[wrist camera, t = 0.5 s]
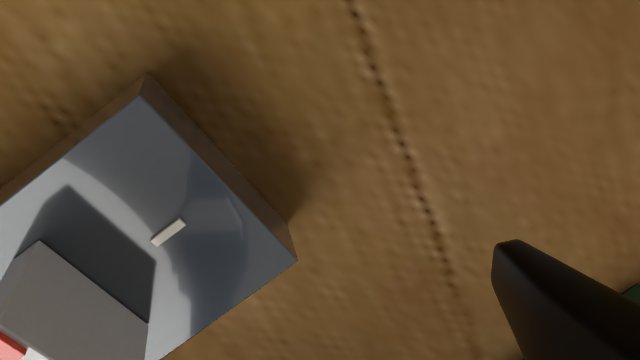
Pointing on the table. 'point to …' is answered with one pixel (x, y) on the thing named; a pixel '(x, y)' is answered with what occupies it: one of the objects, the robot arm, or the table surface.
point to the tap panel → (148, 216)
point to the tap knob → (63, 314)
